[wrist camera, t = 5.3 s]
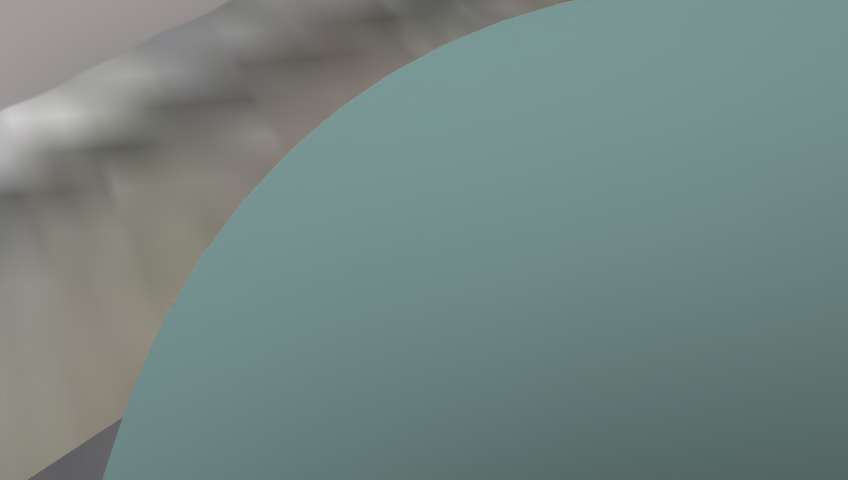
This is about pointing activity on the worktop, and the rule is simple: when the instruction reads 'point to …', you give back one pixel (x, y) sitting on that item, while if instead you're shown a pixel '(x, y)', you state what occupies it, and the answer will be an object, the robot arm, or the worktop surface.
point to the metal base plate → (84, 459)
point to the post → (535, 266)
